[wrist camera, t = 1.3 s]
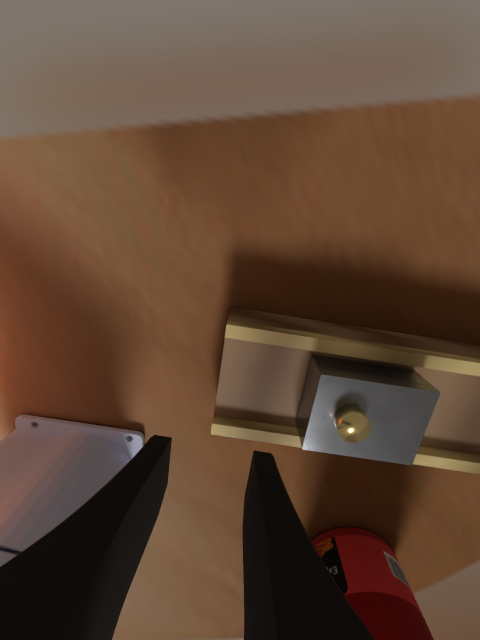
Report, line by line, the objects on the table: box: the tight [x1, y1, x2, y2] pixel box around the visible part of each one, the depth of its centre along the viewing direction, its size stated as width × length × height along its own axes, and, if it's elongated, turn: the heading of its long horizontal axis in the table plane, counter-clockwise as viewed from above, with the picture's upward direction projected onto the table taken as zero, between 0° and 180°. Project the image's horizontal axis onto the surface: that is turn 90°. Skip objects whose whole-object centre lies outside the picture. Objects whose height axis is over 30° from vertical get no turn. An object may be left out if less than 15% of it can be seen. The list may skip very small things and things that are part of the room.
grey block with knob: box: [295, 354, 441, 465], centre depth 16 cm, size 6×4×3 cm
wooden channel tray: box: [211, 307, 480, 474], centre depth 19 cm, size 18×7×4 cm, turn 81°
